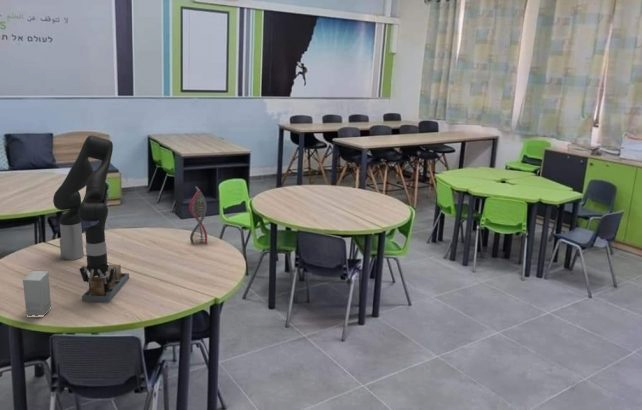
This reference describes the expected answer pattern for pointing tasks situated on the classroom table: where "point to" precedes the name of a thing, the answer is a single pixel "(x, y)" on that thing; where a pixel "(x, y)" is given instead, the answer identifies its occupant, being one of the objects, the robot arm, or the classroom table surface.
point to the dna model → (198, 217)
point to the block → (97, 286)
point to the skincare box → (37, 293)
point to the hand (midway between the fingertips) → (99, 290)
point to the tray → (109, 293)
